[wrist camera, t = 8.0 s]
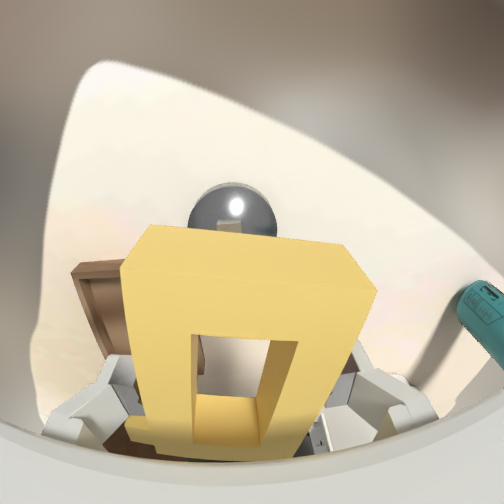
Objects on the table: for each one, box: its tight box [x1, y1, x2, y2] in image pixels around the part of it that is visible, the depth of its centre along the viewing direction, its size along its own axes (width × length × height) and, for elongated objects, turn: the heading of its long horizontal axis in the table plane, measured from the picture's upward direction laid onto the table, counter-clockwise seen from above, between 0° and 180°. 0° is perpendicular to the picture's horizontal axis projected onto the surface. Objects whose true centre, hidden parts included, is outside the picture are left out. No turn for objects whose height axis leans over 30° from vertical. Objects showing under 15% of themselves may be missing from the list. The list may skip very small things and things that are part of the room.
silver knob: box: [188, 183, 277, 237], centre depth 22 cm, size 7×7×6 cm
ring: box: [120, 224, 377, 461], centre depth 9 cm, size 7×9×3 cm
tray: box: [71, 259, 205, 375], centre depth 27 cm, size 13×11×2 cm
